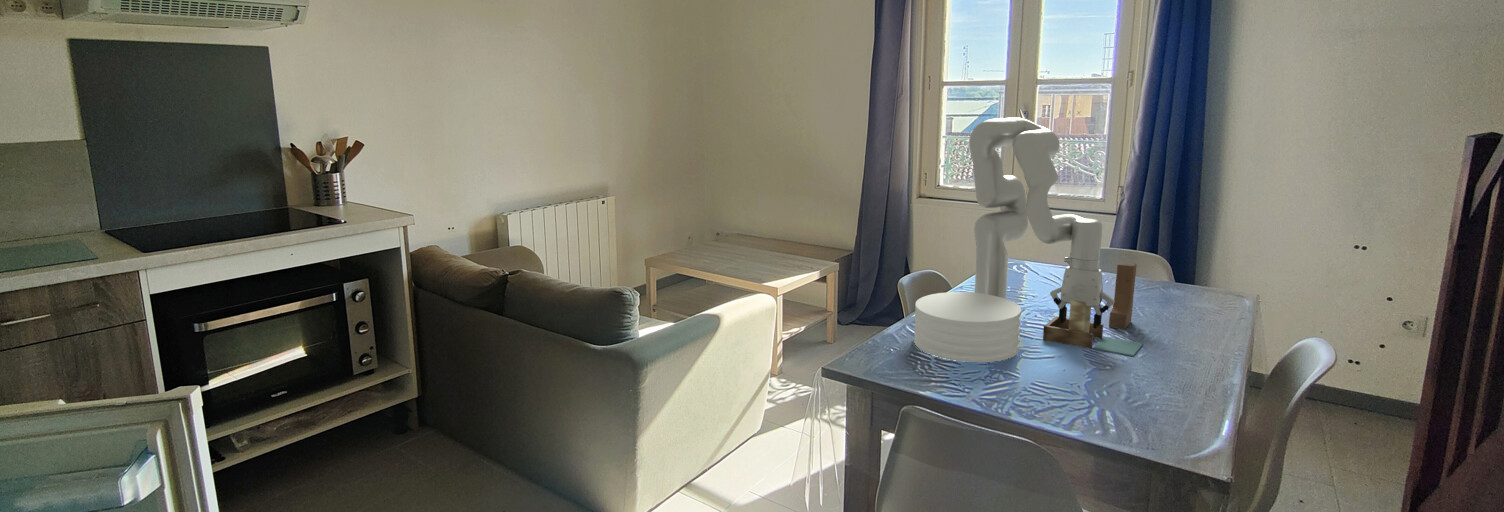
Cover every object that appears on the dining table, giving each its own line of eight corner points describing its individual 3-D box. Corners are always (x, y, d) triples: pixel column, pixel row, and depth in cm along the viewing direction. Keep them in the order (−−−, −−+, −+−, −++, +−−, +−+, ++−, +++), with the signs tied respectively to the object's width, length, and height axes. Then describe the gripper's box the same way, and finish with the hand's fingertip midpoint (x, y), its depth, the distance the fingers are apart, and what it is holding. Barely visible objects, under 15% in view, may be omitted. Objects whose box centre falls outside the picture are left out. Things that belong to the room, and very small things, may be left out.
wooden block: (1124, 329, 226) (1130, 269, 222) (1108, 327, 229) (1113, 267, 225) (1131, 321, 233) (1136, 263, 229) (1115, 319, 236) (1120, 261, 232)
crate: (1042, 339, 219) (1043, 326, 218) (1055, 329, 228) (1056, 316, 227) (1091, 348, 212) (1092, 334, 211) (1102, 337, 220) (1103, 324, 219)
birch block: (1067, 341, 218) (1070, 300, 215) (1073, 335, 222) (1077, 295, 220) (1082, 344, 215) (1085, 302, 213) (1088, 338, 220) (1092, 297, 217)
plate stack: (1019, 334, 225) (1021, 296, 222) (1018, 368, 199) (1020, 325, 196) (920, 325, 234) (922, 289, 231) (907, 357, 208) (908, 316, 205)
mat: (1093, 349, 211) (1093, 347, 211) (1104, 338, 220) (1104, 336, 220) (1133, 356, 205) (1133, 355, 205) (1142, 344, 214) (1142, 343, 214)
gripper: (1047, 262, 216) (1043, 322, 220) (1114, 271, 206) (1108, 333, 210) (1056, 257, 222) (1051, 315, 226) (1121, 265, 211) (1116, 326, 215)
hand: (1079, 324), depth 218 cm, fingers open, 8 cm apart
